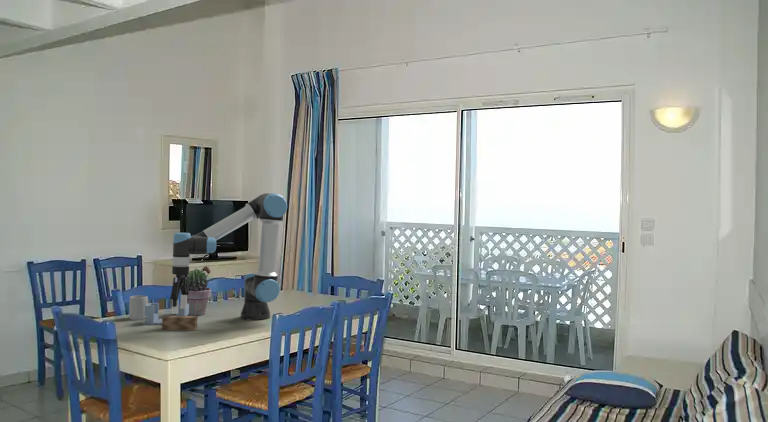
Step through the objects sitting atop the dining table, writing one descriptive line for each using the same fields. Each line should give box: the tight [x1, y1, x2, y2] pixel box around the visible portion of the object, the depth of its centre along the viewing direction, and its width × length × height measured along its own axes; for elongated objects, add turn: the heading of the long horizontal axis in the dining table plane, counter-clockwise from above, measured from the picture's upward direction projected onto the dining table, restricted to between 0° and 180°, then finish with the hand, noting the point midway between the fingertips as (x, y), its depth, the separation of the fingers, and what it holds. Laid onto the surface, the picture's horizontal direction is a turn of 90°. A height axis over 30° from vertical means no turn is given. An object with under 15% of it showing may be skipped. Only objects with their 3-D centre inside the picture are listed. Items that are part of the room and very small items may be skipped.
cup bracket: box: [142, 302, 189, 326], centre depth 304 cm, size 20×10×9 cm, turn 92°
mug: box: [128, 294, 150, 321], centre depth 315 cm, size 12×8×11 cm
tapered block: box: [161, 315, 198, 331], centre depth 291 cm, size 15×4×6 cm, turn 92°
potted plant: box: [179, 265, 212, 317], centre depth 327 cm, size 18×20×25 cm
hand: (179, 311), depth 291 cm, fingers open, 13 cm apart
